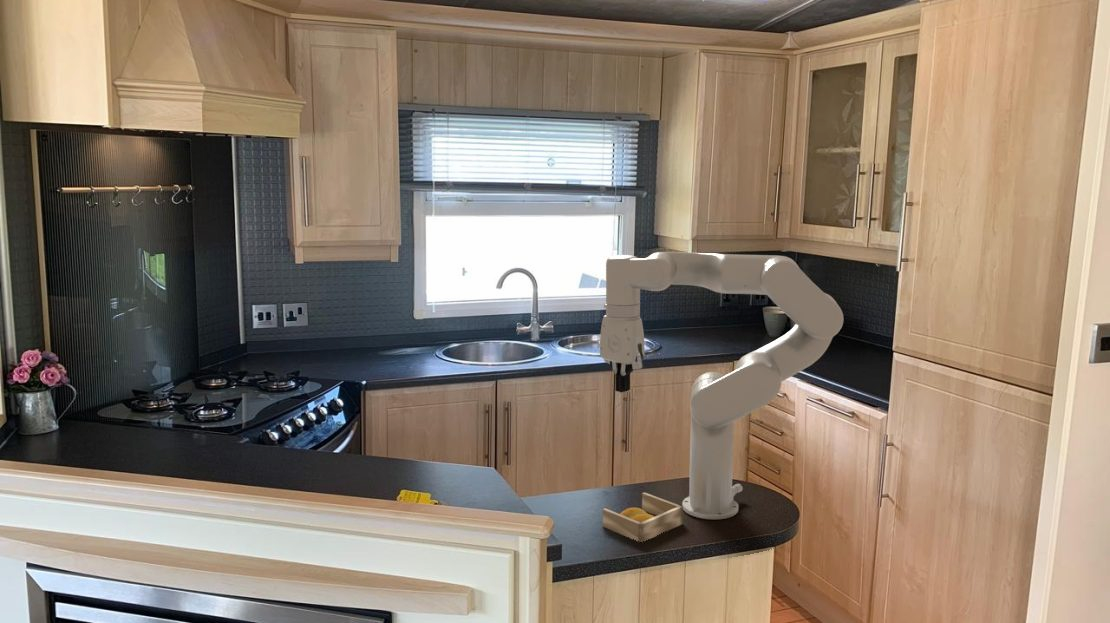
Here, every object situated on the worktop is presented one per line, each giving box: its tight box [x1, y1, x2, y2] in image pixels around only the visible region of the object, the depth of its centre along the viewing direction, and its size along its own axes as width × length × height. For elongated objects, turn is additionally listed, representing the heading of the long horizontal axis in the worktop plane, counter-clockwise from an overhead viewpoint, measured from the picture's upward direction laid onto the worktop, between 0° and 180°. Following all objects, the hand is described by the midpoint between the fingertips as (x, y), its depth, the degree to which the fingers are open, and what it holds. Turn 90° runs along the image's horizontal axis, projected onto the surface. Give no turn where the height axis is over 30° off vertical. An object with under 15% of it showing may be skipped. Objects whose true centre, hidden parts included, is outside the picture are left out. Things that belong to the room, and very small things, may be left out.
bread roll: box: [619, 507, 655, 523], centre depth 187 cm, size 8×9×4 cm
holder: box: [602, 492, 684, 543], centre depth 189 cm, size 14×11×4 cm
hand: (622, 390), depth 196 cm, fingers closed
